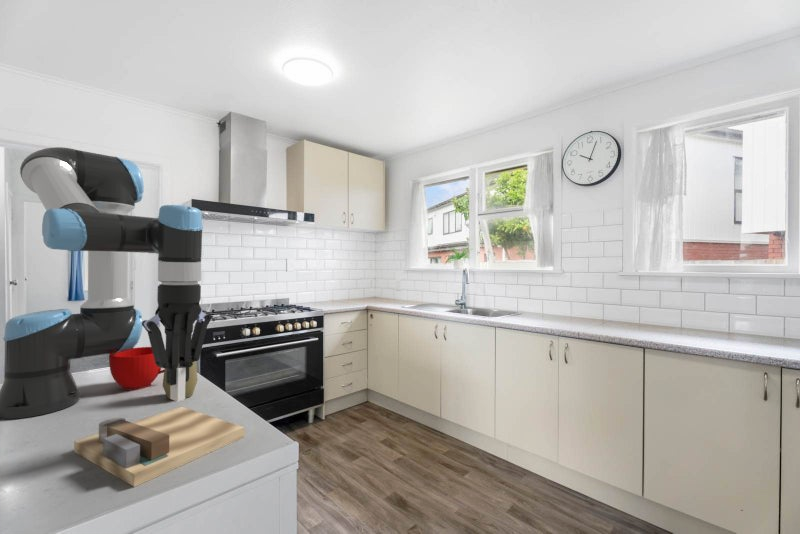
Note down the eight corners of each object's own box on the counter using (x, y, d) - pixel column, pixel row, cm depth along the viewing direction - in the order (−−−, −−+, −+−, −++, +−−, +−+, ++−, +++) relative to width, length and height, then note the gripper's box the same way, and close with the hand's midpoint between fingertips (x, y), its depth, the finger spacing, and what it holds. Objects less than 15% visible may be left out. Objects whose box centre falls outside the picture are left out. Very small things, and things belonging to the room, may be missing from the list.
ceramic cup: (171, 389, 105) (171, 354, 105) (99, 395, 100) (99, 358, 100) (183, 376, 117) (183, 345, 117) (120, 381, 112) (120, 348, 112)
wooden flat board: (74, 451, 70) (74, 425, 70) (181, 415, 87) (182, 393, 87) (134, 486, 59) (134, 455, 59) (243, 437, 76) (244, 412, 76)
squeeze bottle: (181, 403, 95) (182, 332, 95) (154, 400, 96) (155, 330, 96) (204, 392, 103) (204, 327, 103) (179, 390, 104) (179, 326, 104)
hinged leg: (94, 439, 70) (94, 423, 70) (118, 431, 73) (118, 416, 73) (148, 461, 62) (148, 443, 62) (172, 450, 66) (172, 433, 66)
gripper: (200, 281, 83) (197, 386, 83) (134, 283, 72) (132, 405, 72) (221, 282, 79) (218, 393, 79) (155, 285, 68) (152, 414, 68)
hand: (177, 399), depth 76 cm, fingers closed
